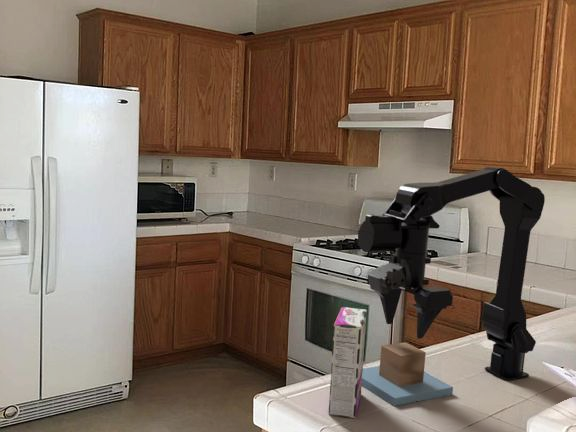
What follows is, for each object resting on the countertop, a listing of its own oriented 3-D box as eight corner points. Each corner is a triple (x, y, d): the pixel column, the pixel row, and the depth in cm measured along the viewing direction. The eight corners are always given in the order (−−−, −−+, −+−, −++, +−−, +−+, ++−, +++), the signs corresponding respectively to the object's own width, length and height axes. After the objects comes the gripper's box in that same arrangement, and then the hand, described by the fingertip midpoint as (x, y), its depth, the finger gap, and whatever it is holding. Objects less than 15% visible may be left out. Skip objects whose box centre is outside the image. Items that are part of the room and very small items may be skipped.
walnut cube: (403, 371, 127) (405, 342, 127) (422, 382, 122) (425, 352, 121) (379, 375, 125) (381, 345, 124) (398, 386, 119) (401, 356, 119)
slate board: (405, 368, 133) (405, 361, 133) (452, 394, 121) (453, 387, 121) (349, 377, 126) (350, 370, 126) (394, 406, 114) (394, 398, 114)
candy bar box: (334, 390, 120) (341, 305, 117) (361, 394, 119) (368, 308, 117) (326, 415, 109) (332, 322, 107) (355, 420, 108) (362, 326, 106)
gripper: (348, 243, 124) (342, 320, 126) (410, 263, 108) (402, 351, 110) (393, 241, 130) (386, 315, 132) (458, 260, 113) (450, 344, 116)
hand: (404, 330), depth 122 cm, fingers open, 9 cm apart
